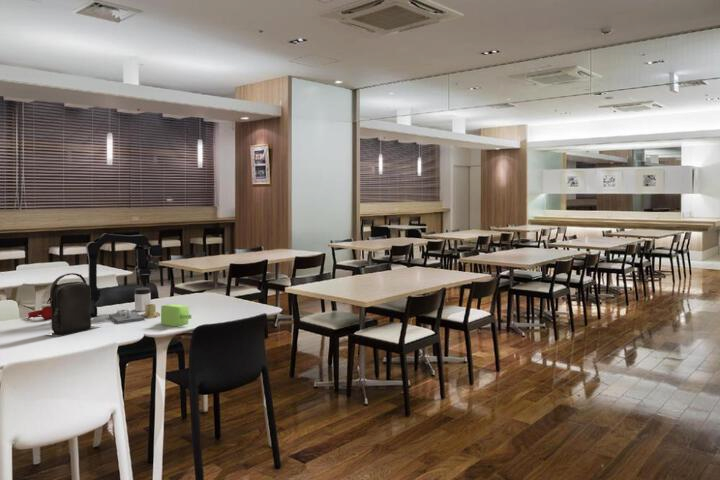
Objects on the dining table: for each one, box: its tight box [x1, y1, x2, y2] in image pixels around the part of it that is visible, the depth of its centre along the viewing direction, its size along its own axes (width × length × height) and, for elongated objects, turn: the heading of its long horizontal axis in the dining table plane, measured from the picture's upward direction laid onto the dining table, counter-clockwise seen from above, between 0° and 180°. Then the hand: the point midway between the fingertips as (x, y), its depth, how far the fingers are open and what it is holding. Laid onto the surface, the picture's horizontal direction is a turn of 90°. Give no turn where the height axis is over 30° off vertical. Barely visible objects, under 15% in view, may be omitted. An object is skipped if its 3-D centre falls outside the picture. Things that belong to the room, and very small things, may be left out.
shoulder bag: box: [46, 272, 101, 338], centre depth 274 cm, size 23×9×28 cm, turn 148°
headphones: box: [27, 305, 51, 320], centre depth 308 cm, size 15×7×20 cm
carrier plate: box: [108, 309, 146, 325], centre depth 300 cm, size 13×18×6 cm
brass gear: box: [140, 303, 161, 319], centre depth 307 cm, size 9×9×6 cm
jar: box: [134, 287, 152, 312], centre depth 324 cm, size 9×8×12 cm
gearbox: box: [160, 303, 192, 327], centre depth 288 cm, size 18×10×10 cm, turn 59°
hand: (143, 285), depth 321 cm, fingers open, 9 cm apart
